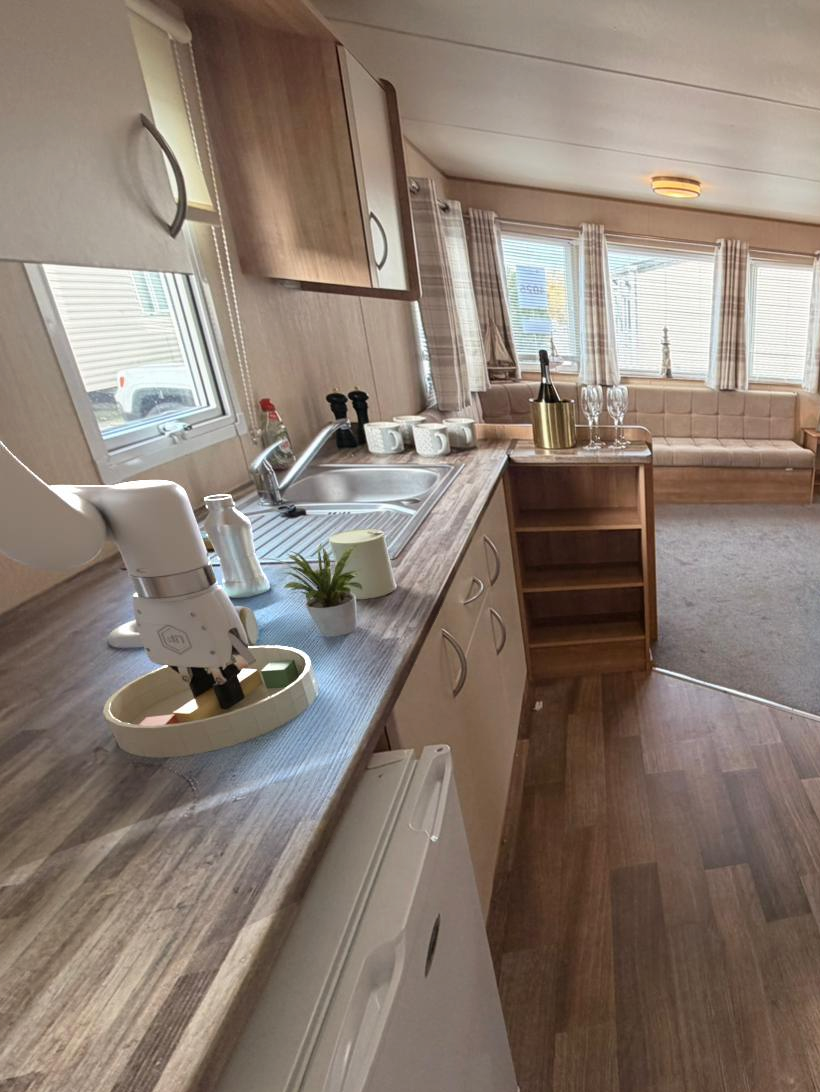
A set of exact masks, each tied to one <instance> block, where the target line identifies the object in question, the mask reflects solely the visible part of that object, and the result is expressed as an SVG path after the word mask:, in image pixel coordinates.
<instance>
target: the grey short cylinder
mask: <svg viewBox="0 0 820 1092" xmlns="http://www.w3.org/2000/svg"><path fill="white" fill-rule="evenodd" d="M233 606H234V608H235V610H236V612H237V614H238V616H239V618H240V621H241V623H242V625H243V628H244V630H245V633H246V636H247V640H248V644H249V646H256V644H257V643H258V639H259V627H258V622H257V618H256V616H255V612H253V610H252V609H250V608H249V607H247V606H240V605H239V606H238V605H233Z"/></svg>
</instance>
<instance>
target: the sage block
mask: <svg viewBox="0 0 820 1092" xmlns="http://www.w3.org/2000/svg"><path fill="white" fill-rule="evenodd" d="M261 673H262V676H263V679H264V682H265V685H266V688H267V689H269V688H282V687H287V686H289V685H290V684H291V683H293V682H294V681H295V680H297V678H298V677H299V674H298V671H297V668H296V665H295V662H294V660H282V661H271V662H270V663H269V664H268V665H267V666H266V667H264V668H263V669H262V670H261Z"/></svg>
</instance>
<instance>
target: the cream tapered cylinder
mask: <svg viewBox="0 0 820 1092" xmlns="http://www.w3.org/2000/svg"><path fill="white" fill-rule="evenodd" d="M385 535H386V534H385V532H384V531H383V530H381V529H376V528H357V529H350V530H346V531H345V530H344V531H341V532H338V533H335V534H332V535H330V536H329V538H328V543H329V545H330V548H331V549H330V550H331V551H332V552H331V553H332V556H333V559H334V562H335V566H336V565H337V563H338V562H339V560H340V559H341V557H342V556H343V554H344V553H345V552H346V551H347V550H348V549H349V548H350V547H352V546H354V545H356V544H358V545H357V546H356V547H355V548H354V549H353V550H352V551H351V553H350V556H349V558H348V559H347V561H346V562H345V564H346V563H347V562H348V561H349V560H350V561H349V562H348V563H347V564H346V565H345V564H344V565H345V567H344V568H343V570H342V572H341V574H344V573H347V572H351V571H356V570H360V571H356V572H353V573H350V574H358V575H355V576H356V577H354V578H352V579H351V580H350V581H349V583H350V582H357V583H359V584H361V586H362V590H361V589H359V588H357V587H354V586H350V585H347V587H348V588H350V593H353V594H354V595H355V596H356V600H368V599H369V598H370V599H375V598H379V597H383V596H387V595H388V594H391V593H392V592H394V591H396V589H397V588H398V585H397V583H396V580H395V575H394V572H393V568H392V563H391V558H390V555H389V549H388V545H387V540H386V536H385ZM336 549H337V550H336ZM335 550H336V551H335ZM334 551H335V552H334ZM333 552H334V553H333ZM356 556H358V557H356ZM354 557H355V558H354ZM352 558H353V559H352ZM341 574H340V575H341ZM370 599H369V600H370Z"/></svg>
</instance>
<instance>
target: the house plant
mask: <svg viewBox="0 0 820 1092" xmlns="http://www.w3.org/2000/svg"><path fill="white" fill-rule="evenodd" d="M322 543H323V542H321V543H320V544H319V546H318V551H317V558H318V559H317V560H318V567H319V569H317V570H315V571H314V570H313V569H312V567H311V565H310V564H309V562H308V561H307V560H306V559H305V558H304V556H302V555H301V554H300V553H297V552H295V551H291V550H290V551H289V552H290V553H293V554H295V555H296V556H295V555H293V554H290V553H287V556H288V557H289V558H290V559H291V560H293V561H294V562H295V563H296V565H298V566H299V567H298V566H291V565H290V564H288V563H287V562H285V561H283V560H279V559H276V558H269V560H271V561H275V562H276V561H277V562H279V563H282V564H284V565H286V566H288V567H285V568H281V569H280V571H283V570H286V569H288V568H289V569H292V570H294V571H295V572H296V573H298V574H299V575H297V574H296V573H292V572H286V574H287V575H291V576H293V577H294V578H296V579H298V580H299V581H300V582H302V583H300V582H297V581H296V582H295V581H291V582H288V583H286V584H285V585H284V586H283V589H288V588H289V590H288V592H289V591H294V592H291V593H290V595H292V594H295V593H297V591H295V590H304V591H300V593H301V594H304V595H305V598H306V602H305V607H306V609H307V611H308V613H309V614H310V616H311V618H312V620H313V622H314V624H315V626H316V628H317V630H318V632H319V633H320V636H323V637H327V638H330V637H331V638H332V637H339V636H344V635H345V636H346V635H348V634H350V633H353V632H354V631H356V630H357V628H358V614H357V613H358V612H357V599H356V596H355V595H354V594H353V593H350V588H348V587H347V585H350V586H354V587H357V588H359V589H361V590H362V586H361V584H359V583H357V582H350V583H349V581H350V580H351V579H352V578H354V577H356V576H355V575H358V574H350V573H353V572H356V571H360V570H356V571H351V572H347V573H344V574H341V572H342V570H343V568H344V567H345V565H346V564H347V563H348V562H349V561H350V560H349V561H348V562H347V563H346V564H345V562H346V561H347V559H348V558H349V556H350V553H351V551H352V550H353V549H354V548H355V547H356V546H357V545H358V544H356V545H354V546H352V547H350V548H349V549H348V550H347V551H346V552H345V553H344V554H343V556H342V557H341V559H340V560H339V562H338V563H337V565H336V564H335V567H334V568H333V567H332V566H331V561H330V560H331V559H330V557H331V556H332V555H333V553H334V552H335V551H336V550H337V549H336V550H335V551H334V552H331V553H330V554H328V551H327V550H326V549H325V548H324V547H322ZM321 549H322V554H321ZM321 555H322V556H321ZM297 556H298V557H299V558H300V559H299V558H298V557H297ZM356 557H358V556H356ZM354 558H355V557H354ZM352 559H353V558H352ZM261 560H268V558H264V557H263V558H261ZM322 560H323V565H324V566H322ZM344 564H345V565H344ZM331 569H332V570H333V569H334V572H333V575H332V573H331V572H332V571H331ZM283 574H285V572H282V573H279V574H278V576H279V575H283ZM340 574H341V575H340ZM301 576H302V577H303V578H305V579H306V580H307V581H308V582H310V584H309V583H308V582H307V581H306V580H305V579H303V578H302V577H301ZM331 576H332V577H331ZM311 584H312V585H313V586H314V587H315V588H313V586H312V585H311ZM290 588H291V589H290ZM305 591H306V592H305Z"/></svg>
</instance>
